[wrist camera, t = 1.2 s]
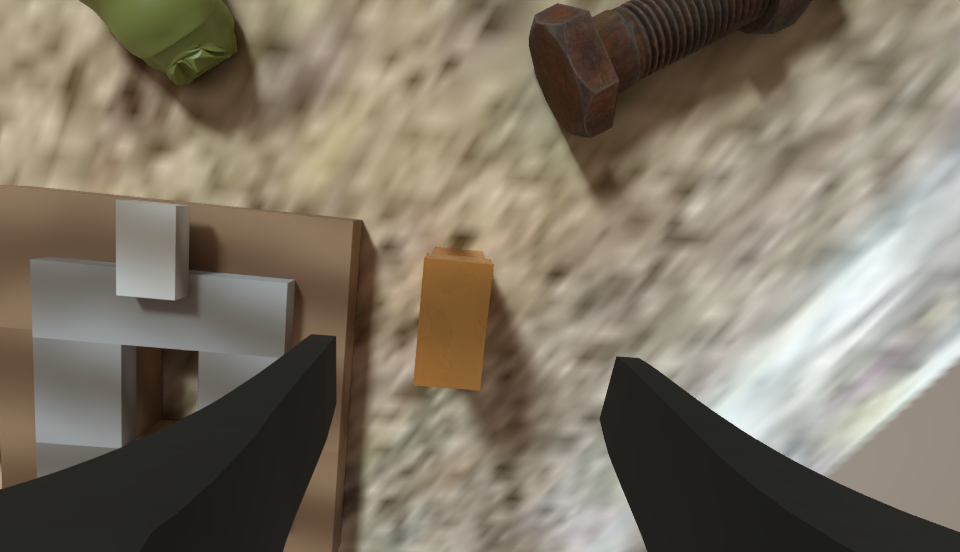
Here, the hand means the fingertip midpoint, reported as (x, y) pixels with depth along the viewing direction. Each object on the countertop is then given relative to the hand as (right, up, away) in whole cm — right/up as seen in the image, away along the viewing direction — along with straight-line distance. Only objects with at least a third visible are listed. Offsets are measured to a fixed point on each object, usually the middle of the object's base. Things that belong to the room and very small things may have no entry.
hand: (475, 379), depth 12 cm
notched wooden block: (-1, +2, +12) cm, 13 cm away
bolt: (+10, +15, +11) cm, 21 cm away
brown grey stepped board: (-15, -3, +13) cm, 19 cm away
